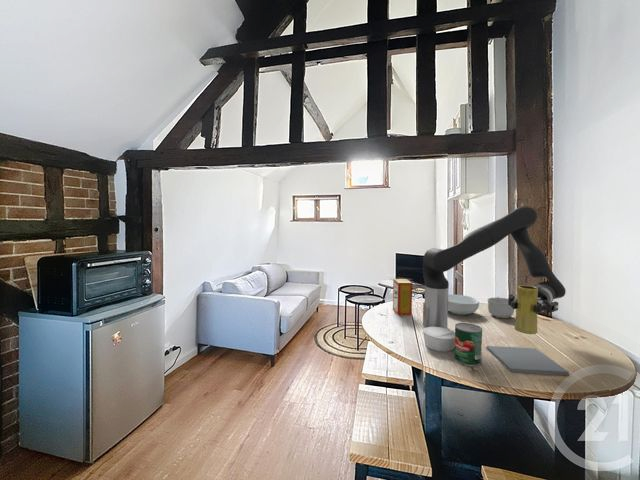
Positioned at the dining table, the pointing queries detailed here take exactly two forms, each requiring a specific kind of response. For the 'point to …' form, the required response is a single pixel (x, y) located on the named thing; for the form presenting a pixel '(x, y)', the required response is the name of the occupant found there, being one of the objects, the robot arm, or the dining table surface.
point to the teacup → (500, 307)
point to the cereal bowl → (462, 304)
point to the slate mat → (526, 360)
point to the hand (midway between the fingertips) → (524, 307)
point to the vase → (526, 310)
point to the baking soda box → (402, 296)
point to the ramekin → (439, 338)
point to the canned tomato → (468, 344)
